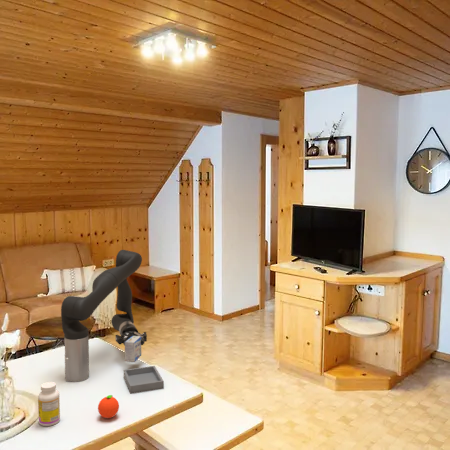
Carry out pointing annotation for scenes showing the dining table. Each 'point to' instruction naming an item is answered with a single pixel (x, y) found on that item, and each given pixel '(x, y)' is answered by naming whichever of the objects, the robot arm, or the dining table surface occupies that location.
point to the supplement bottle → (48, 404)
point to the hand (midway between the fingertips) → (135, 343)
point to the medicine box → (133, 348)
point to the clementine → (108, 407)
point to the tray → (143, 379)
